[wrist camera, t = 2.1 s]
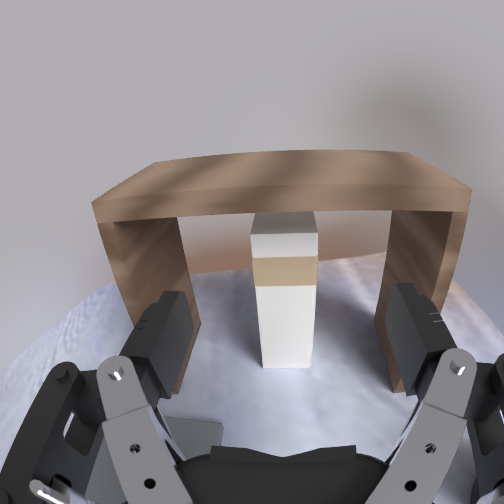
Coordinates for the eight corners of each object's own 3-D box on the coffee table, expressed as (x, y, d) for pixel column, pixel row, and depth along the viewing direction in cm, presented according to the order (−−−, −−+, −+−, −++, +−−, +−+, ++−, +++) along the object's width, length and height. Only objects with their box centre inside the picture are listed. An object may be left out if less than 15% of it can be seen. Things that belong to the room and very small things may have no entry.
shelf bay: (166, 392, 24) (91, 202, 15) (191, 322, 33) (154, 162, 24) (405, 391, 22) (471, 189, 13) (383, 319, 30) (408, 152, 21)
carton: (262, 368, 26) (249, 234, 20) (265, 335, 30) (255, 209, 24) (311, 368, 26) (318, 232, 19) (309, 334, 30) (312, 207, 23)
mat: (85, 498, 14) (80, 495, 13) (119, 410, 22) (116, 405, 22) (203, 535, 12) (200, 534, 12) (223, 427, 21) (221, 423, 21)
